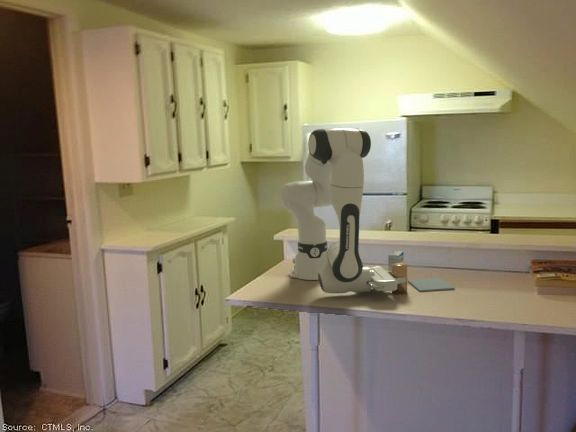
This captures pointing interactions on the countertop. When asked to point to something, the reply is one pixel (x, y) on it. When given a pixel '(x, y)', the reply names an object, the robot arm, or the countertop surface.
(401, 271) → the tea tin
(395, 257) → the medicine box
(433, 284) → the mat
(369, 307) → the countertop surface
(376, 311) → the countertop surface
